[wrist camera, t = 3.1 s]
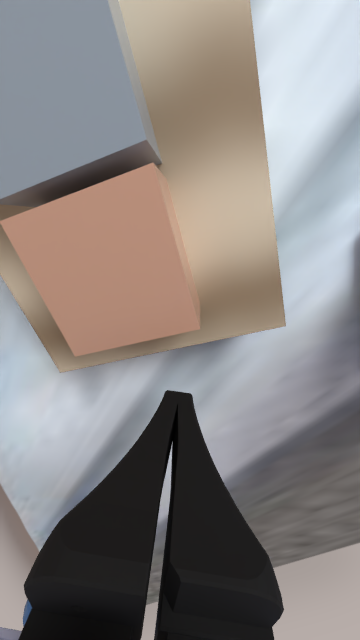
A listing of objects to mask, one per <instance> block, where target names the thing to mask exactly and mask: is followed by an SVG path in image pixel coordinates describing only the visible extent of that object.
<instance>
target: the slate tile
mask: <svg viewBox="0 0 360 640" xmlns="http://www.w3.org/2000/svg"><path fill="white" fill-rule="evenodd" d="M150 163H154V164H155V165H159V164H161V163H162V160H161V157H160V153H159V149H158V145H157V142H156V138H155V134H154V130H153V127H152V123H151V119H150V116H149V112H148V108H147V104H146V101H145V97H144V93H143V89H142V86H141V82H140V78H139V75H138V71H137V67H136V63H135V60H134V56H133V52H132V48H131V45H130V41H129V37H128V34H127V30H126V26H125V22H124V19H123V15H122V11H121V7H120V4H119V0H0V204H1V205H13V206H26V207H38V206H41V205H43V204H46V203H49V202H51V201H54V200H56V199H59V198H62V197H64V196H67V195H69V194H72V193H75V192H77V191H80V190H83V189H85V188H88V187H90V186H93V185H96V184H98V183H101V182H103V181H106V180H109V179H111V178H114V177H116V176H119V175H122V174H124V173H127V172H130V171H132V170H135V169H137V168H140V167H143V166H145V165H148V164H150Z"/></svg>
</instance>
